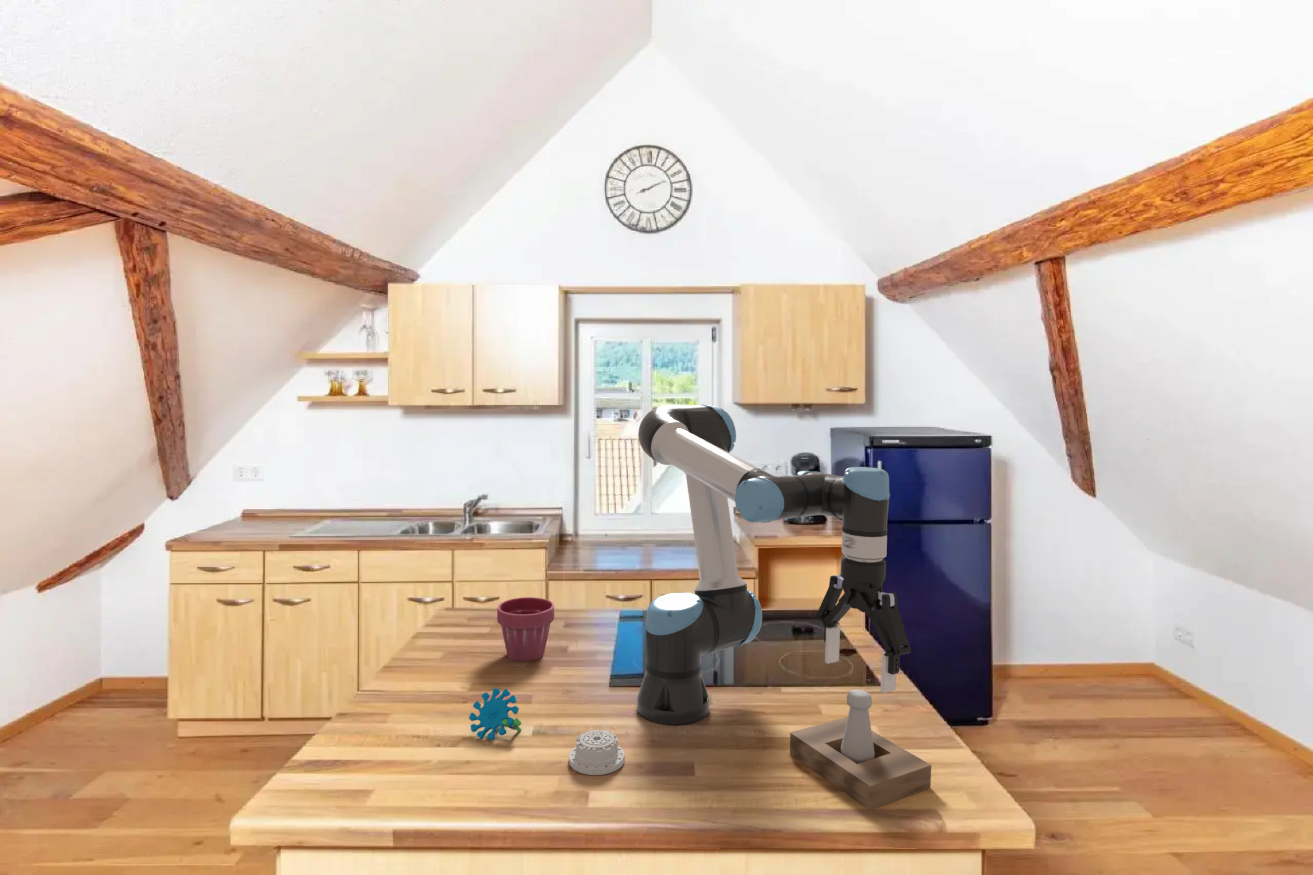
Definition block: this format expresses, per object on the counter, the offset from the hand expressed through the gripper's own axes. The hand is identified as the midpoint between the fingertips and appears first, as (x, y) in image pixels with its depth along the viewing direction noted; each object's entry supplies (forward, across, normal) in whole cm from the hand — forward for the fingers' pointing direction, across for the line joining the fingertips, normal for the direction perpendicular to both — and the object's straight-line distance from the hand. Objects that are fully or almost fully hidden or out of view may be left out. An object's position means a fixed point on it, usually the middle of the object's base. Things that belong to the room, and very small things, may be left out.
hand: (858, 675), depth 125 cm
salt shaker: (+16, 0, 0) cm, 16 cm away
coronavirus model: (+18, -42, -53) cm, 70 cm away
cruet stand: (+17, 0, 0) cm, 17 cm away
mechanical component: (+18, -24, -40) cm, 49 cm away
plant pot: (+18, -78, -35) cm, 88 cm away
